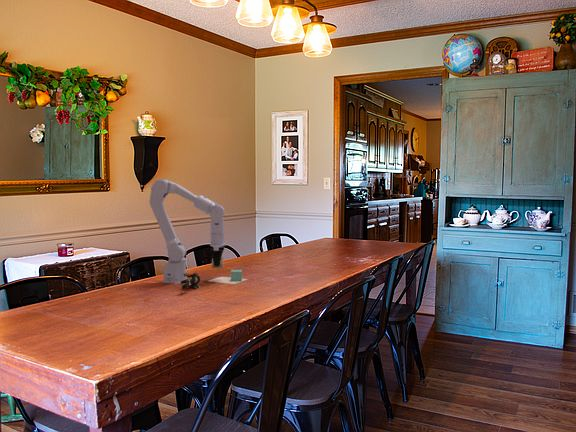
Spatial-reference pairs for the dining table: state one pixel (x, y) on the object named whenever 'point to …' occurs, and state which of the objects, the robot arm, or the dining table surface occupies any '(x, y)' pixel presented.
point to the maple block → (219, 265)
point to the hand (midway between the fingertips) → (217, 265)
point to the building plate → (225, 280)
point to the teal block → (236, 275)
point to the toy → (191, 281)
